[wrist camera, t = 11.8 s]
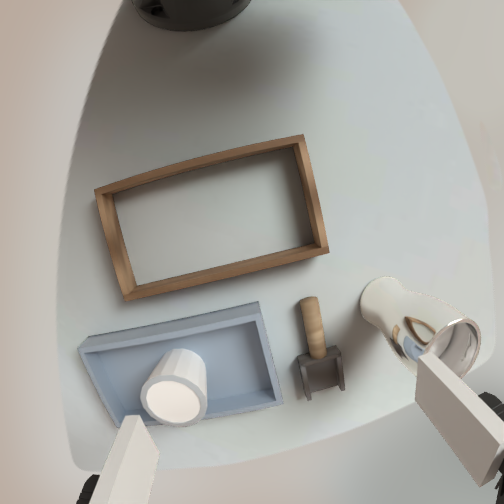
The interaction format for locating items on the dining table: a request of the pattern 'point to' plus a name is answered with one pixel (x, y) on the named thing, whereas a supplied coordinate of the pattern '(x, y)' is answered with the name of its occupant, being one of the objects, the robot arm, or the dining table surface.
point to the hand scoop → (318, 353)
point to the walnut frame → (220, 272)
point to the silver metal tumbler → (420, 326)
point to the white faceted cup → (176, 389)
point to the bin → (200, 342)
